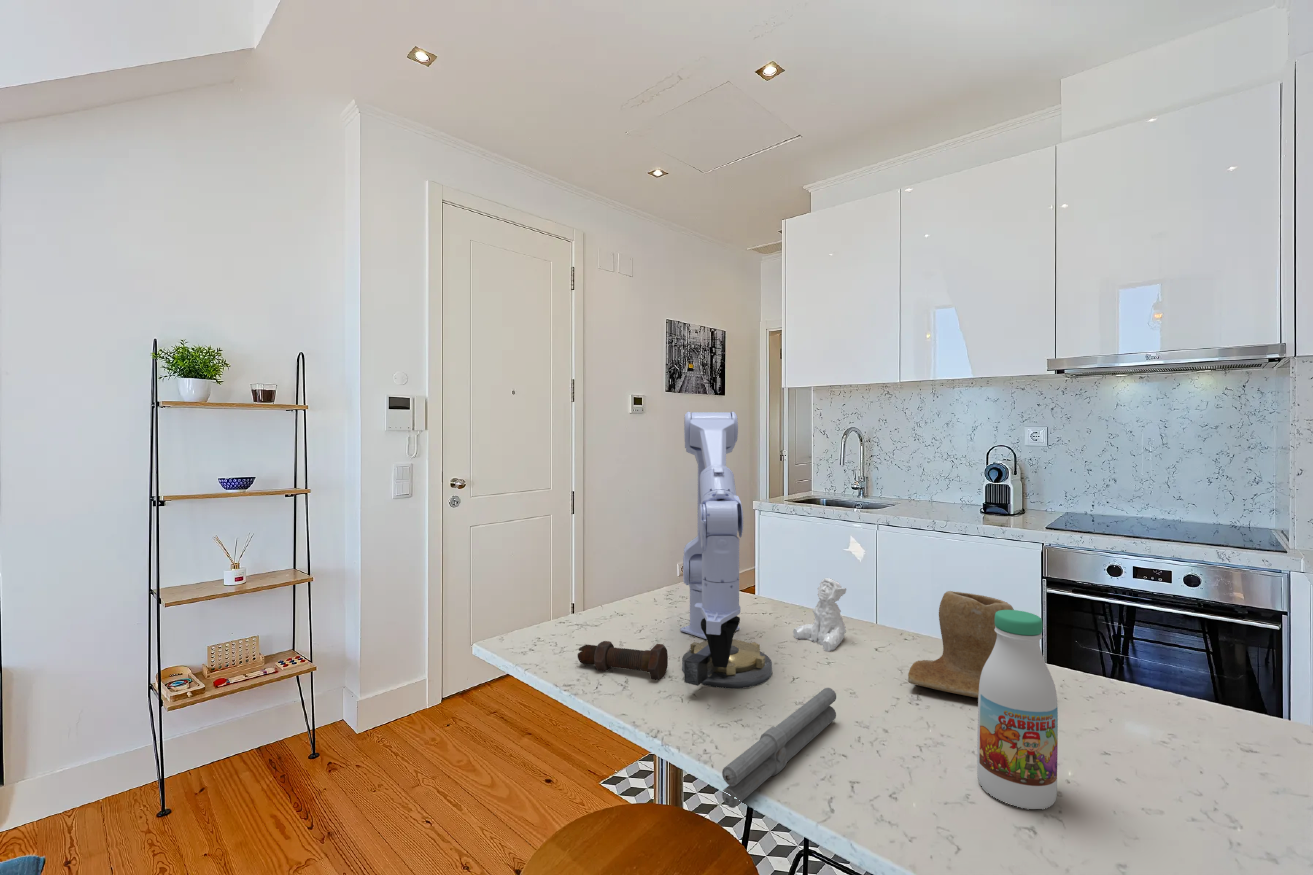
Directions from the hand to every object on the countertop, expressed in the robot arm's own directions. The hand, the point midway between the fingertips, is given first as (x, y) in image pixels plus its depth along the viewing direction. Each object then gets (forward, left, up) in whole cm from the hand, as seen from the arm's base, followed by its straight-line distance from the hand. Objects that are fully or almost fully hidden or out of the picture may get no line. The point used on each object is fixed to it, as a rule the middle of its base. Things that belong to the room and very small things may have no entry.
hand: (720, 665), depth 93 cm
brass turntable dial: (-4, -4, -2) cm, 6 cm away
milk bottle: (-3, +40, -4) cm, 40 cm away
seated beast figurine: (-31, +1, -4) cm, 32 cm away
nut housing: (-7, -4, -4) cm, 9 cm away
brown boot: (-27, +27, -4) cm, 38 cm away
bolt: (+5, -17, -4) cm, 18 cm away
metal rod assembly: (+9, +18, -4) cm, 20 cm away
